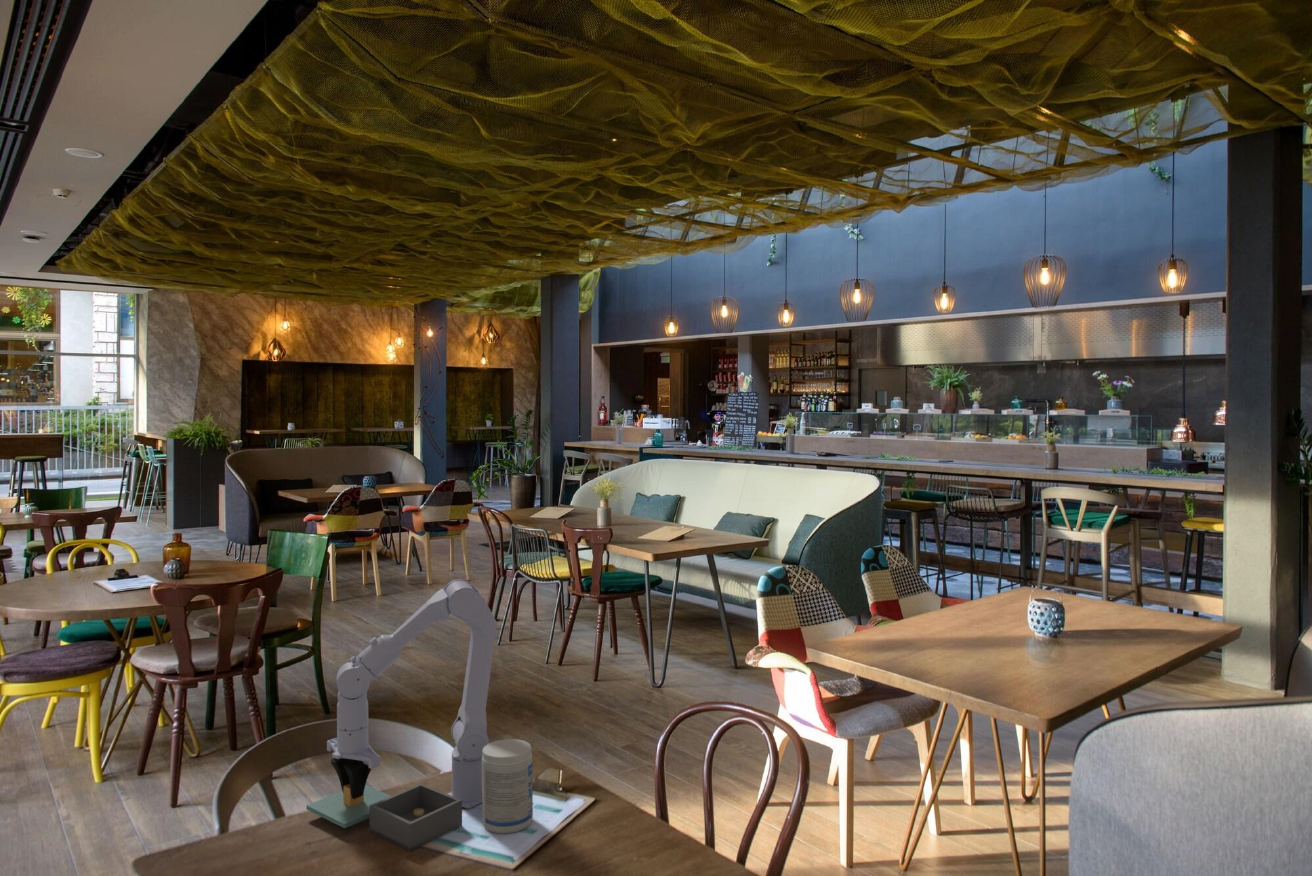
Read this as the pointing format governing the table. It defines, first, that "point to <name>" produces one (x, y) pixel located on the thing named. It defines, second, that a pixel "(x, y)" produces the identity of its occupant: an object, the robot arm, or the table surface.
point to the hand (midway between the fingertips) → (353, 794)
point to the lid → (347, 806)
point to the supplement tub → (507, 786)
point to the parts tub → (415, 816)
